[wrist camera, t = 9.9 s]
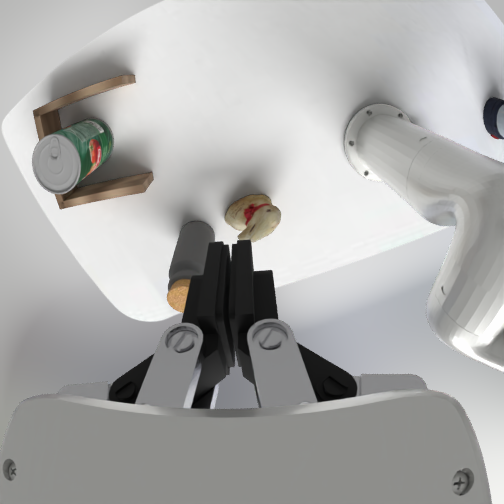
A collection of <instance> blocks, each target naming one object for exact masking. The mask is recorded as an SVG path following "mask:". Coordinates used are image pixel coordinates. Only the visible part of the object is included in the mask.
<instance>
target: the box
mask: <svg viewBox="0 0 504 504" xmlns="http://www.w3.org/2000/svg"><path fill="white" fill-rule="evenodd" d="M133 83H136V82H135V75H121V76H118V77H115V78H112V79H108V80H105V81H102V82H100V83H97V84H94V85H91V86H88V87H86V88H83V89H81V90H78V91H75V92H73V93H71V94H68V95H66V96H63V97H61V98H59V99H57V100H54V101H52V102H50V103H48V104H46V105H44V106H42V107H39V108H37V109H35V110H33V114H34V119H35V124H36V129H37V133H38V138H39V141H40V140H41V139H42V138H43V137H45V136H47V135H50V134H52V133H54V132H57V131H59V130H61V124H60V119H59V114H58V109H60V108H62V107H65V106H67V105H70V104H72V103H75V102H77V101H80V100H83V99H85V98H88V97H91V96H94V95H97V94H100V93H103V92H106V91H109V90H112V89H115V88H119V87H122V86H125V85H129V84H133ZM153 180H154V179H153V174H152V172H150V173H145V174H139V175H134V176H129V177H124V178H119V179H115V180H110V181H106V182H101V183H97V184H92V185H88V186H84V187H80V188H77V186H76V185H75V186H74V187H73V188H72V189H71V190H70V191H68V192H67V193H64V194H55V196H56V199H57V202H58V205H59V208H60V209H64V208H68V207H73V206H77V205H82V204H86V203H91V202H96V201H101V200H106V199H111V198H116V197H121V196H127V195H132V194H138V193H144V192H145V191H146V190H147V188H148V187H149V185H150V184H151V182H152V181H153Z"/></svg>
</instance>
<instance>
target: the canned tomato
mask: <svg viewBox="0 0 504 504" xmlns="http://www.w3.org/2000/svg"><path fill="white" fill-rule="evenodd" d="M113 147H114V138H113V134H112V131H111V129H110V128H109V126H108V125H107V124H106V123H105V122H104V121H102V120H100V119H97V118H89V119H85V120H83V121H81V122H78V123H76V124H73V125H71V126H68V127H66V128H64V129H61V130H59V131H57V132H54V133H52V134H50V135H47V136H45V137H43V138H42V139H41V140H40V141H39V142H38V144H37V145H36V147H35V149H34V152H33V157H32V166H33V171H34V174H35V177H36V179H37V181H38V182H39V184H40V185H41V186H42V187H43V188H44V189H45V190H47V191H48V192H51V193H53V194H64V193H67V192H68V191H70V190H71V189H72V188H73V187H74V186H75V185H77V184H78V183H79V182H80V181H81V180H83V179H84V178H85V177H86V176H88V175H89V174H90V173H91V172H93V171H94V170H95V169H96V168H98V167H99V166H100V165H101V164H103V163H104V162H106V161H107V160H108V158H109V157H110V155H111V153H112V151H113Z"/></svg>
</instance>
